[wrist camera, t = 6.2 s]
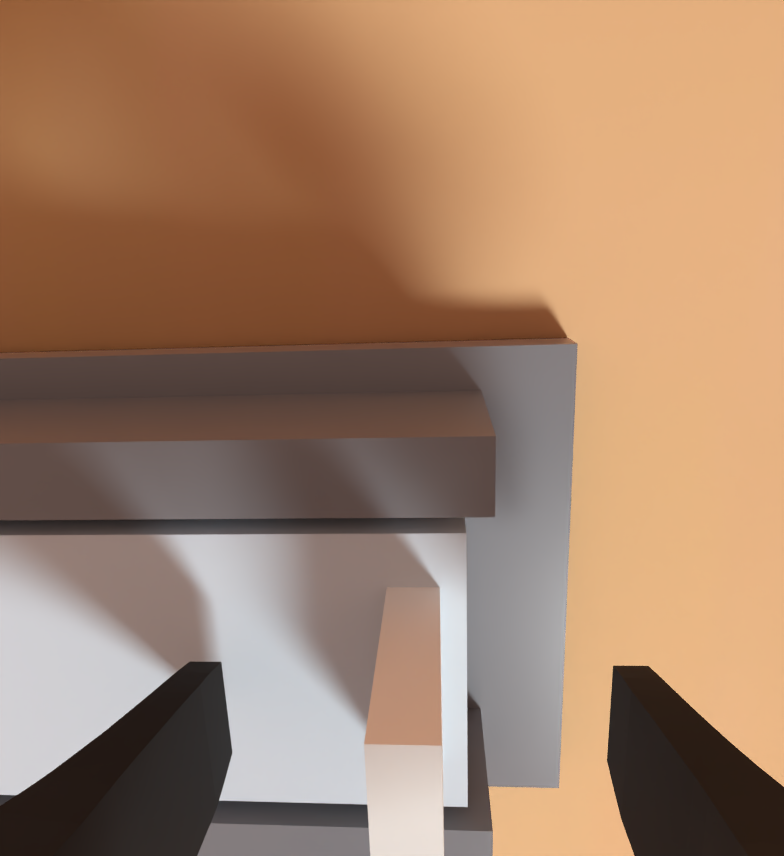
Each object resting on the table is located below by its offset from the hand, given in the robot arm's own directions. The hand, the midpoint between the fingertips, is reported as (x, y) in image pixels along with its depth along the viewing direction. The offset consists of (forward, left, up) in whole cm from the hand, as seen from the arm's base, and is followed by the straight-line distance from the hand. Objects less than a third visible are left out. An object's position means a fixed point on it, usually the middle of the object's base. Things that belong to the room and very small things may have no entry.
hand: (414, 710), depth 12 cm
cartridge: (0, +6, -4) cm, 7 cm away
